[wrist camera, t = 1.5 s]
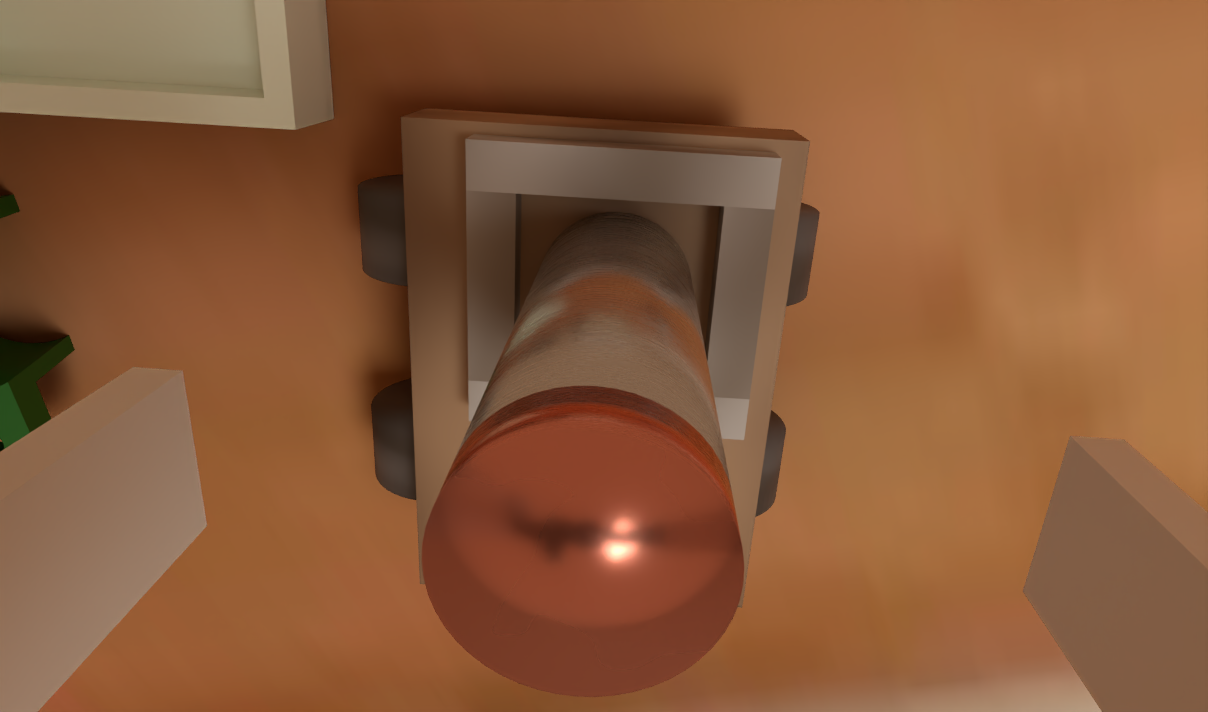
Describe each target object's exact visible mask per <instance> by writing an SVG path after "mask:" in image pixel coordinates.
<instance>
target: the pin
mask: <svg viewBox="0 0 1208 712" xmlns="http://www.w3.org/2000/svg"><path fill="white" fill-rule="evenodd" d="M422 568H423V577H424V581H425V585H426V589H427V592H428V596H429V598H430V600H431V602H432V605H433V607H434V609H435V612H436V613H437V615H438V616H439V618H440V620H441V621H442V623H443V625H444V626H445V628H446V629H447V630H448V631H449V633H450V634H451V635H452V636H453V637H454V639H455V640H456V641H457V642H458V643H459V644H460V645H461V646H462V647H463V648H464V649H465V650H466V651H467V652H468V653H469V654H471V655H472V656H473V657H474V658H476V659H477V660H478V661H480V662H481V663H482V664H484V665H485V666H487V667H488V668H490V669H492V670H493V671H495V672H497V673H498V674H500V675H502V676H504V677H506V678H509V679H511V680H513V681H515V682H517V683H520V684H523V685H526V686H528V687H531V688H534V689H537V690H542V691H546V692H550V693H555V694H562V695H569V696H584V697H599V696H612V695H619V694H625V693H630V692H635V691H638V690H642V689H645V688H648V687H652V686H654V685H657V684H659V683H661V682H664V681H666V680H669V679H671V678H672V677H674V676H676V675H678V674H679V673H681V672H683V671H685V670H686V669H688V668H689V667H690V666H692V665H693V664H694V663H696V662H697V661H699V660H700V659H701V658H702V657H703V656H704V655H705V654H706V653H707V652H708V651H709V650H710V649H711V648H713V646H714V645H715V644H716V643H717V641H718V640H719V639H720V638H721V636H722V635H723V634H724V633H725V631H726V629H727V627H728V626H729V624H730V622H731V620H732V619H733V617H734V614H735V612H736V609H737V607H738V604H739V602H740V597H741V593H742V588H743V583H744V556H743V547H742V542H741V537H740V532H739V526H738V521H737V516H736V510H735V505H734V500H733V495H732V489H731V484H730V479H729V473H728V468H727V463H726V458H725V452H724V447H723V442H722V436H721V431H720V426H719V421H718V415H717V410H716V405H715V399H714V394H713V389H712V384H711V378H710V373H709V368H708V362H707V357H706V352H705V347H704V341H703V336H702V331H701V325H700V320H699V315H698V310H697V304H696V299H695V294H694V288H693V283H692V278H691V273H690V269H689V265H688V262H687V259H686V257H685V255H684V253H683V251H682V249H681V248H680V246H679V245H678V243H677V242H676V241H675V239H674V238H673V237H672V236H671V235H670V234H669V233H668V232H667V231H666V230H664V229H663V228H662V227H661V226H659V225H658V224H656V223H654V222H653V221H651V220H649V219H646V218H644V217H641V216H639V215H635V214H631V213H624V212H605V213H599V214H595V215H591V216H588V217H586V218H583V219H581V220H579V221H577V222H575V223H574V224H572V225H571V226H569V227H568V228H567V229H565V230H564V231H563V232H562V233H561V234H560V235H559V236H558V237H557V238H556V239H555V241H554V242H553V243H552V245H551V246H550V248H549V250H548V252H547V253H546V255H545V258H544V260H543V262H542V264H541V266H540V269H539V271H538V273H537V275H536V278H535V280H534V282H533V284H532V287H531V289H530V291H529V293H528V296H527V298H526V300H525V302H524V305H523V307H522V309H521V311H520V313H519V316H518V318H517V320H516V322H515V325H514V327H513V329H512V331H511V334H510V336H509V338H508V340H507V343H506V345H505V347H504V349H503V352H502V354H501V356H500V358H499V360H498V363H497V365H496V367H495V369H494V372H493V374H492V376H491V378H490V381H489V383H488V385H487V387H486V390H485V392H484V394H483V396H482V399H481V401H480V403H479V405H478V407H477V410H476V412H475V414H474V416H473V419H472V421H471V423H470V425H469V428H468V430H467V432H466V434H465V437H464V439H463V441H462V443H461V446H460V448H459V450H458V452H457V454H456V457H455V459H454V461H453V463H452V466H451V468H450V470H449V472H448V475H447V477H446V479H445V481H444V484H443V486H442V488H441V490H440V493H439V495H438V497H437V499H436V501H435V504H434V506H433V508H432V511H431V513H430V516H429V519H428V521H427V524H426V527H425V532H424V537H423V542H422Z"/></svg>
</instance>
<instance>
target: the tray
mask: <svg viewBox="0 0 1208 712" xmlns="http://www.w3.org/2000/svg"><path fill="white" fill-rule="evenodd" d="M0 112H9V113H25V114H42V115H58V116H75V117H91V118H108V119H124V120H141V121H157V122H174V123H190V124H207V125H223V126H240V127H256V128H273V129H289V130H297V129H300V128H304V127H307V126H311V125H314V124H318V123H321V122H325V121H328V120H332V119H334V112H333V98H332V84H331V70H330V56H329V42H328V28H327V14H326V0H0Z"/></svg>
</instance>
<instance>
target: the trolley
mask: <svg viewBox="0 0 1208 712" xmlns="http://www.w3.org/2000/svg"><path fill="white" fill-rule="evenodd" d="M401 136H402V160H403V175H391V176H383V177H377V178H373V179H369V180H366V181H363V182H361V183H360V184H359V185H358V201H359V217H360V233H361V249H362V265H363V271H364V272H365V273H366V274H367V275H369V276H370V277H372V278H374V279H377V280H380V281H383V282H387V283H391V284H396V285H403V286H408V306H409V330H410V354H411V379H407V380H404V381H400V382H398V383H395V384H393V385H391V386H388V387H387V388H385V389H383V390H382V391H381V392H379V393H378V394H377V395H376V396H375V397H374V399H373V401H372V404H371V408H372V424H373V440H374V456H375V472H376V477H377V480H378V481H379V483H380V484H381V485H382V486H383V487H384V488H386V489H387V490H388V491H390V492H392V493H394V494H396V495H399V496H401V497H405V498H408V499H413V500H417V524H418V548H419V572H420V584H425V581H424V577H423V568H422V542H423V537H424V532H425V527H426V524H427V521H428V519H429V516H430V513H431V511H432V508H433V506H434V504H435V501H436V499H437V497H438V495H439V493H440V490H441V488H442V486H443V484H444V481H445V479H446V477H447V475H448V472H449V470H450V468H451V466H452V463H453V461H454V459H455V457H456V454H457V452H458V450H459V448H460V446H461V443H462V441H463V439H464V437H465V434H466V432H467V430H468V428H469V425H470V423H471V421H472V419H473V416H474V414H475V412H476V410H477V407H478V405H479V403H480V401H481V399H482V396H483V394H484V392H485V390H486V387H487V385H488V383H489V381H490V378H491V376H492V374H493V372H494V369H495V367H496V365H497V363H498V360H499V358H500V356H501V354H502V352H503V349H504V347H505V345H506V343H507V340H508V338H509V336H510V334H511V331H512V329H513V327H514V325H515V322H516V320H517V318H518V316H519V313H520V311H521V309H522V307H523V305H524V302H525V300H526V298H527V296H528V293H529V291H530V289H531V287H532V284H533V282H534V280H535V278H536V275H537V273H538V271H539V269H540V266H541V264H542V262H543V260H544V258H545V255H546V253H547V252H548V250H549V248H550V246H551V245H552V243H553V242H554V241H555V239H556V238H557V237H558V236H559V235H560V234H561V233H562V232H563V231H564V230H565V229H567V228H568V227H569V226H571V225H572V224H574V223H575V222H577V221H579V220H581V219H583V218H586V217H588V216H591V215H595V214H599V213H605V212H624V213H631V214H635V215H639V216H641V217H644V218H646V219H649V220H651V221H653V222H654V223H656V224H658V225H659V226H661V227H662V228H663V229H664V230H666V231H667V232H668V233H669V234H670V235H671V236H672V237H673V238H674V239H675V241H676V242H677V243H678V245H679V246H680V248H681V249H682V251H683V253H684V255H685V257H686V259H687V262H688V265H689V269H690V273H691V278H692V283H693V288H694V294H695V299H696V304H697V310H698V315H699V320H700V325H701V331H702V336H703V341H704V347H705V352H706V357H707V362H708V368H709V373H710V378H711V384H712V389H713V394H714V399H715V405H716V410H717V415H718V421H719V426H720V431H721V436H722V442H723V447H724V452H725V458H726V463H727V468H728V473H729V479H730V484H731V489H732V495H733V500H734V505H735V510H736V516H737V521H738V526H739V532H740V537H741V542H742V547H743V556H744V583H743V588H742V593H741V597H740V602H739V604H738V607H741V608H742V605H743V598H744V591H745V584H746V577H747V570H748V564H749V557H750V550H751V543H752V536H753V529H754V522H755V517H756V516H758V515H760V514H762V513H764V512H765V511H767V510H768V509H769V508H770V507H771V506H772V504H773V503H774V500H775V497H776V491H777V484H778V478H779V471H780V465H781V458H782V452H783V446H784V439H785V432H786V428H785V425H784V423H783V421H782V420H781V418H780V417H779V416H778V415H777V414H776V413H774V412H773V411H772V410H771V406H772V399H773V392H774V385H775V379H776V372H777V365H778V358H779V351H780V344H781V337H782V331H783V324H784V317H785V310H786V306H789V305H793V304H796V303H798V302H800V301H802V300H803V299H805V298H806V296H807V291H808V285H809V278H810V272H811V265H812V259H813V252H814V246H815V240H816V233H817V227H818V220H819V211H818V210H817V209H815V208H814V207H812V206H809V205H807V204H804V203H801V200H802V194H803V187H804V180H805V173H806V166H807V159H808V153H809V146H810V141H808V140H807V139H806V138H804V137H803V136H801V135H800V134H798V133H797V132H795V131H794V130H782V129H765V128H749V127H732V126H715V125H699V124H682V123H665V122H648V121H632V120H615V119H598V118H581V117H565V116H548V115H531V114H514V113H498V112H481V111H464V110H447V109H431V108H425V109H422V110H419V111H416V112H413V113H411V114H408V115H405V116H402V117H401Z"/></svg>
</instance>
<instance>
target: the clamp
mask: <svg viewBox="0 0 1208 712" xmlns="http://www.w3.org/2000/svg"><path fill="white" fill-rule="evenodd" d="M19 211H20V210H19V207H18V205H17V202H16V200H15V197H14V194H13V195H5V196H0V218H3V217H6V216H8V215H11V214H14V213H16V212H19ZM74 350H75V349H74V347H73V344H72V342H71V339H70V337H69V335H68V336H66V337H64V338H61V339H58V340H54V341H50V342H44V343H23V342H16V341H11V340H8V339H4V338H1V337H0V439H1V440H2V442H0V452H1V451H2V450H4V449H5V448H7V447H9V446H10V445H12V444H13V443H15V442H16V441H18V440H20V439H21V438H23V437H24V436H26V435H27V434H29V433H30V432H32V431H34V430H35V429H37V428H38V427H40V426H41V425H43V424H45V423H46V422H48V421H49V420H51V417H50V415H49V413H48V410H47V408H46V405H45V403H44V401H43V398H42V396H41V394H40V391H39V389H38V386H37V384H36V381H37V380H39V379H40V378H41V377H42V376H43V375H45V374H46V373H47V372H48V371H50V370H51V369H52V368H53V367H54V366H56V365H57V364H58V363H59V362H60V361H62V360H63V359H64V358H65V357H67V356H68V355H69V354H70V353H71V352H73V351H74Z"/></svg>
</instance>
